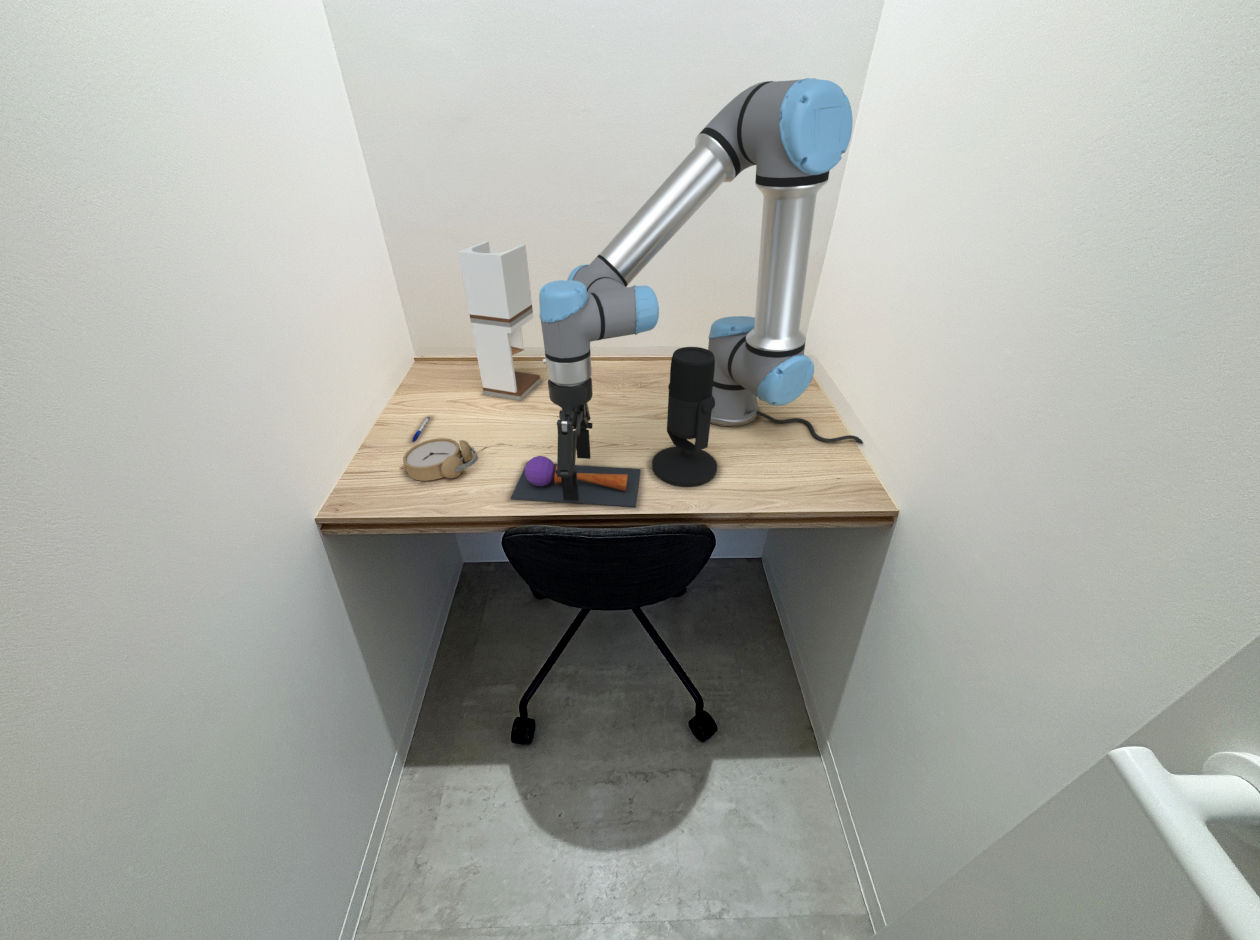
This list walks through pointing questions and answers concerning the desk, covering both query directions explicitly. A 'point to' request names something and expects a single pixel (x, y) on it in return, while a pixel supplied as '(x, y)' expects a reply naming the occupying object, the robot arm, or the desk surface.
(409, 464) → the alarm clock
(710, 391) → the microphone
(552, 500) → the mat
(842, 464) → the desk surface
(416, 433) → the ballpoint pen
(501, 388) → the display case
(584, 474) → the kendama
